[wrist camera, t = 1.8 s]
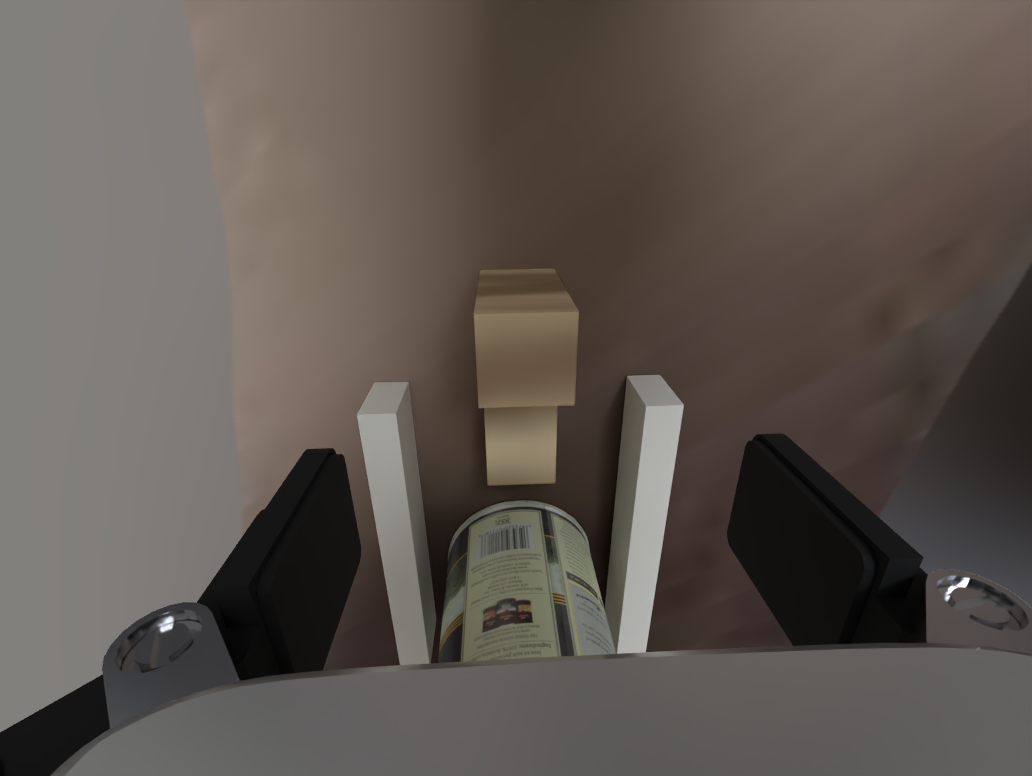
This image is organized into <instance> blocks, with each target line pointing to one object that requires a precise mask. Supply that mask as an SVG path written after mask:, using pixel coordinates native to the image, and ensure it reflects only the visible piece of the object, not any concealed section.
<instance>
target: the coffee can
mask: <svg viewBox="0 0 1032 776" xmlns="http://www.w3.org/2000/svg"><path fill="white" fill-rule="evenodd" d="M601 654H616V652H615V648H614V645H613V641H612V637H611V633H610V629H609V625H608V622H607V617H606V614H605V610H604V606H603V602H602V598H601V594H600V590H599V586H598V582H597V578H596V574H595V570H594V566H593V562H592V559H591V555H590V547H589V542H588V539H587V536H586V534H585V532H584V530H583V529H582V527H581V526H580V524H579V523H578V522H577V521H576V520H575V519H574V518H573V517H572V516H570V515H569V514H567V513H566V512H564V511H563V510H561V509H559V508H557V507H555V506H553V505H550V504H546V503H543V502H538V501H530V500H518V501H507V502H502V503H498V504H494V505H492V506H489V507H487V508H484V509H482V510H480V511H478V512H477V513H475V514H474V515H472V516H470V517H469V518H468V519H467V520H466V521H465V522H464V523H463V524H462V525H461V526H460V527H459V528H458V530H457V531H456V533H455V534H454V536H453V538H452V540H451V543H450V546H449V551H448V570H447V582H446V592H445V600H444V609H443V618H442V627H441V637H440V647H439V656H438V663H448V662H466V661H485V660H503V659H521V658H540V657H560V656H581V655H601Z"/></svg>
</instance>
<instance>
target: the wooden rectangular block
mask: <svg viewBox="0 0 1032 776" xmlns="http://www.w3.org/2000/svg"><path fill="white" fill-rule="evenodd" d="M578 321H579V311H578V309H577V308H576V306H575V304H574V302H573V301H572V299H571V297H570V295H569V294H568V292H567V290H566V288H565V287H564V285H563V283H562V281H561V280H560V278H559V276H558V274H557V273H556V271H555V269H554V268H553V269H505V270H480V273H479V280H478V287H477V295H476V302H475V309H474V329H475V348H476V367H477V386H478V406H479V408H484V417H485V438H486V460H487V482H488V486H490V485H518V484H547V483H555V477H556V440H557V406H564V405H575V389H576V366H577V344H578Z"/></svg>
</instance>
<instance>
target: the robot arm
mask: <svg viewBox="0 0 1032 776" xmlns="http://www.w3.org/2000/svg"><path fill="white" fill-rule="evenodd" d="M727 538H728V542H729V545H730V547H731V549H732V551H733V552H734V554H735V555H736V557H737V558H738V560H739V562H740V563H741V565H742V566H743V568H744V569H745V571H746V573H747V574H748V576H749V577H750V579H751V580H752V582H753V584H754V585H755V587H756V588H757V590H758V591H759V593H760V595H761V596H762V598H763V599H764V601H765V602H766V604H767V606H768V607H769V609H770V610H771V612H772V613H773V615H774V616H775V618H776V620H777V621H778V623H779V624H780V626H781V627H782V629H783V631H784V632H785V634H786V635H787V637H788V638H789V640H790V642H791V643H792V645H793V646H777V647H753V648H730V649H707V650H684V651H663V652H642V653H621V654H601V655H581V656H560V657H540V658H521V659H503V660H485V661H466V662H448V663H430V664H412V665H395V666H380V667H365V668H351V669H336V670H324V671H322V670H323V667H324V664H325V662H326V659H327V656H328V653H329V650H330V647H331V644H332V641H333V638H334V635H335V633H336V630H337V627H338V624H339V621H340V618H341V615H342V612H343V609H344V606H345V603H346V601H347V598H348V595H349V592H350V589H351V586H352V583H353V580H354V577H355V574H356V572H357V569H358V566H359V563H360V558H361V544H360V539H359V533H358V528H357V523H356V517H355V512H354V507H353V501H352V496H351V490H350V485H349V480H348V474H347V469H346V463H345V459H344V456H343V455H342V454H336V452H335V450H334V449H333V448H327V449H307V450H305V452H304V453H303V454H302V456H301V457H300V459H299V460H298V462H297V463H296V465H295V466H294V467H293V469H292V470H291V472H290V473H289V475H288V476H287V478H286V479H285V481H284V482H283V484H282V485H281V487H280V488H279V489H278V491H277V492H276V494H275V495H274V497H273V498H272V500H271V501H270V503H269V504H268V506H267V507H266V509H264V510H262V511H261V512H260V513H259V514H258V515H257V516H256V518H255V519H254V521H253V522H252V524H251V525H250V526H249V528H248V529H247V531H246V532H245V534H244V535H243V537H242V538H241V539H240V541H239V542H238V544H237V545H236V547H235V548H234V550H233V551H232V553H231V554H230V555H229V557H228V558H227V560H226V561H225V563H224V564H223V566H222V567H221V568H220V570H219V571H218V573H217V574H216V576H215V577H214V578H213V580H212V581H211V583H210V584H209V586H208V587H207V589H206V590H205V591H204V593H203V594H202V596H201V597H200V599H199V600H198V601H197V603H192V602H183V603H178V604H174V605H169V606H167V607H164V608H161V609H158V610H156V611H153V612H151V613H150V614H148V615H146V616H144V617H143V618H141V619H139V620H137V621H136V622H135V623H133V624H132V625H131V626H130V627H128V628H127V629H126V630H124V631H123V632H122V633H121V634H120V635H119V637H118V638H117V639H116V640H115V641H114V642H113V643H112V644H111V646H110V647H109V649H108V651H107V653H106V655H105V656H104V660H103V667H102V671H103V675H101V676H99V677H97V678H96V679H94V680H92V681H91V682H89V683H87V684H85V685H83V686H82V687H80V688H78V689H76V690H75V691H73V692H71V693H69V694H68V695H66V696H64V697H62V698H60V699H59V700H57V701H55V702H53V703H52V704H50V705H48V706H46V707H45V708H43V709H41V710H39V711H37V712H36V713H34V714H32V715H30V716H29V717H27V718H25V719H24V720H21V721H20V722H18V723H16V724H14V725H13V726H11V727H9V728H7V729H6V730H4V731H2V732H0V776H1032V608H1031V607H1030V606H1029V605H1028V604H1027V603H1026V602H1025V601H1023V600H1022V599H1020V598H1019V597H1018V596H1016V595H1015V594H1014V593H1012V592H1011V591H1009V590H1007V589H1005V588H1004V587H1002V586H1000V585H998V584H997V583H995V582H993V581H990V580H988V579H985V578H982V577H980V576H978V575H975V574H971V573H968V572H964V571H959V570H951V569H943V570H935V571H934V572H932V573H930V574H928V575H927V574H926V573H925V572H924V571H923V570H922V569H921V568H920V567H919V566H920V564H921V562H922V559H923V557H922V556H921V555H920V554H919V553H918V552H917V551H916V550H915V549H913V548H912V547H911V546H910V545H909V544H908V543H906V541H904V540H903V539H902V538H901V537H900V536H899V535H898V534H897V533H895V532H894V531H893V530H892V529H891V528H890V527H889V526H888V525H886V524H885V523H884V522H883V521H882V520H881V519H880V518H879V517H877V516H876V515H875V514H874V513H873V512H872V511H871V510H870V509H868V508H867V507H866V506H865V505H864V504H863V503H862V502H861V501H859V500H858V499H857V498H856V497H855V496H854V495H853V494H852V493H850V492H849V491H848V490H847V489H846V488H845V487H844V486H843V485H841V484H840V483H839V482H838V481H837V480H836V479H835V478H834V477H832V476H831V475H830V474H829V473H828V472H827V471H826V470H825V469H823V468H822V467H821V466H820V465H819V464H818V463H817V462H816V461H814V460H813V459H812V458H811V457H810V456H809V455H808V454H807V453H805V452H804V451H803V450H802V449H801V448H800V447H799V446H797V445H796V444H795V443H794V442H793V441H792V440H791V439H790V438H788V437H787V436H786V435H784V434H758V435H756V436H755V437H754V438H753V440H752V441H748V442H747V444H746V446H745V451H744V455H743V460H742V465H741V469H740V474H739V479H738V483H737V488H736V493H735V498H734V502H733V507H732V512H731V516H730V521H729V526H728V531H727Z"/></svg>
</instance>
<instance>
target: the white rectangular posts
mask: <svg viewBox="0 0 1032 776" xmlns="http://www.w3.org/2000/svg"><path fill="white" fill-rule="evenodd" d="M683 408H684V405H683V403H682V402H681V401H680V400H679V398H678V397H677V396H676V395H675V393H674V392H673V391H672V389H671V388H670V387H669V386H668V384H667V383H666V382H665V381H664V379H663V378H662V377H661V376H660V375H634V376H627V380H626V391H625V401H624V412H623V422H622V433H621V443H620V454H619V464H618V475H617V485H616V496H615V506H614V517H613V527H612V538H611V548H610V559H609V569H608V580H607V590H606V601H605V614H606V617H607V622H608V625H609V629H610V633H611V637H612V641H613V645H614V648H615V652H616V654H621V653H642V652H646V646H647V640H648V634H649V627H650V621H651V614H652V608H653V601H654V595H655V588H656V582H657V575H658V569H659V563H660V556H661V550H662V543H663V537H664V530H665V524H666V517H667V511H668V504H669V498H670V491H671V485H672V479H673V472H674V466H675V459H676V453H677V446H678V440H679V433H680V427H681V420H682V414H683ZM357 419H358V425H359V430H360V436H361V442H362V448H363V454H364V459H365V465H366V471H367V477H368V482H369V488H370V494H371V500H372V506H373V511H374V517H375V523H376V529H377V535H378V540H379V546H380V552H381V558H382V563H383V569H384V575H385V581H386V587H387V592H388V598H389V604H390V610H391V616H392V621H393V627H394V633H395V639H396V644H397V650H398V656H399V662H400V665H412V664H430V663H431V657H432V649H433V641H434V633H435V626H436V612H435V603H434V594H433V586H432V577H431V569H430V560H429V552H428V543H427V534H426V526H425V517H424V509H423V500H422V492H421V483H420V475H419V466H418V457H417V449H416V440H415V432H414V423H413V415H412V406H411V398H410V389H409V382H374V384H373V386H372V388H371V390H370V392H369V393H368V395H367V397H366V399H365V401H364V402H363V404H362V406H361V408H360V410H359V411H358V413H357Z"/></svg>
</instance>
